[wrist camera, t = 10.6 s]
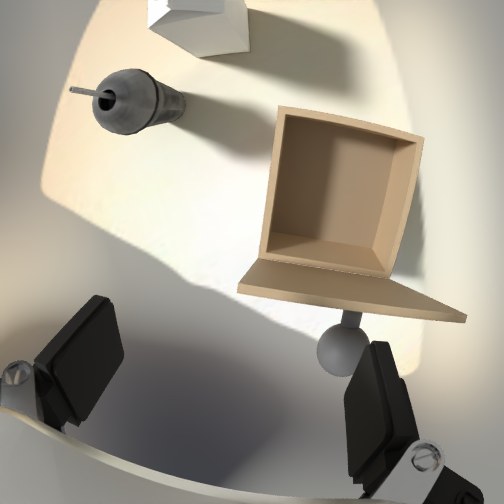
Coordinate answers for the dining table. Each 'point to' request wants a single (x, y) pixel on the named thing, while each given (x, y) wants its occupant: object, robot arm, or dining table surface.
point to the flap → (342, 304)
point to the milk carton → (202, 25)
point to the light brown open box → (338, 192)
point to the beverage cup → (133, 102)
